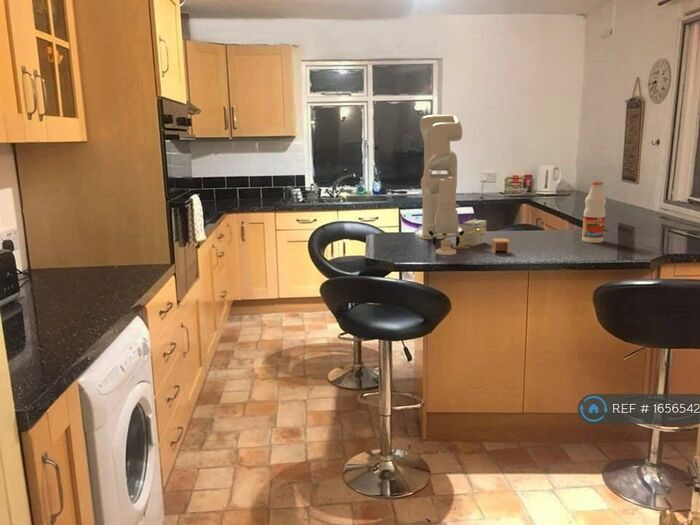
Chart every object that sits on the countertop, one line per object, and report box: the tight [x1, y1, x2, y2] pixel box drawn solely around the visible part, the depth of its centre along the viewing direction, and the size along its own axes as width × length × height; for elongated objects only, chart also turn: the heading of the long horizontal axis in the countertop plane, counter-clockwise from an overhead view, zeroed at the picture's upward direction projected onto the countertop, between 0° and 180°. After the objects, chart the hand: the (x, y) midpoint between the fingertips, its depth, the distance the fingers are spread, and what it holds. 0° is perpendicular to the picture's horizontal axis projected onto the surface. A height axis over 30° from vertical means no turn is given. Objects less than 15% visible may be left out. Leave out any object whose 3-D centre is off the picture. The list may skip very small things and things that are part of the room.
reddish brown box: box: [491, 238, 510, 255], centre depth 256 cm, size 6×6×5 cm
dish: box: [435, 248, 457, 256], centre depth 256 cm, size 9×9×1 cm
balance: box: [440, 228, 484, 250], centre depth 266 cm, size 5×20×9 cm, turn 86°
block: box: [440, 239, 452, 251], centre depth 257 cm, size 4×4×4 cm
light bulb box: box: [462, 218, 487, 247], centre depth 274 cm, size 11×7×11 cm, turn 135°
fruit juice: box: [581, 181, 607, 244], centre depth 272 cm, size 9×9×28 cm
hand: (446, 245), depth 256 cm, fingers open, 9 cm apart
